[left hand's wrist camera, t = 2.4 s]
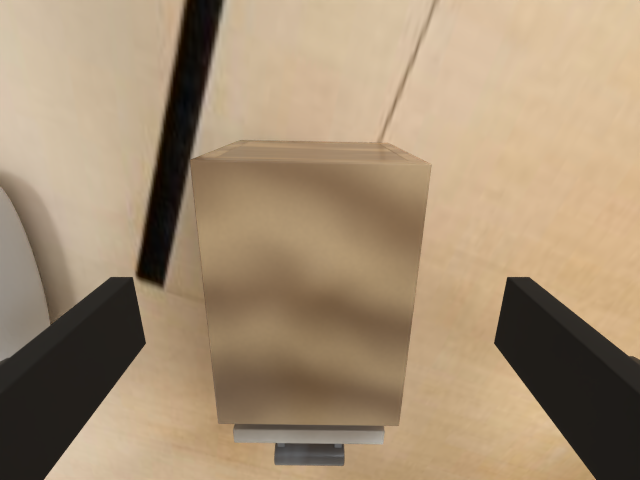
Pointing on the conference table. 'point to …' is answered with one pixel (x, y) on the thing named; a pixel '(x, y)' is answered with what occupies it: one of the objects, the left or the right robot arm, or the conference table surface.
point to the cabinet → (309, 278)
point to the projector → (18, 285)
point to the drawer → (308, 441)
